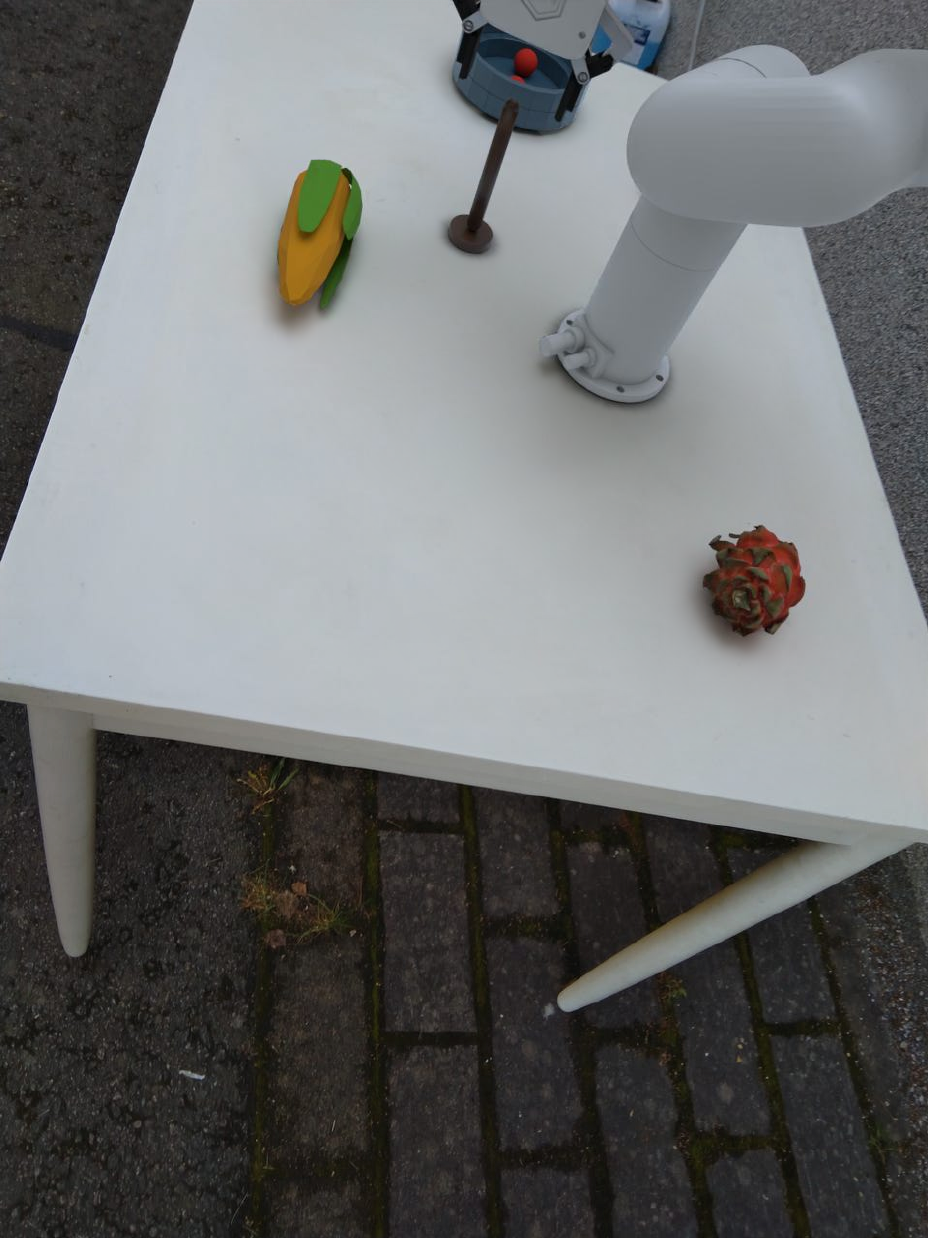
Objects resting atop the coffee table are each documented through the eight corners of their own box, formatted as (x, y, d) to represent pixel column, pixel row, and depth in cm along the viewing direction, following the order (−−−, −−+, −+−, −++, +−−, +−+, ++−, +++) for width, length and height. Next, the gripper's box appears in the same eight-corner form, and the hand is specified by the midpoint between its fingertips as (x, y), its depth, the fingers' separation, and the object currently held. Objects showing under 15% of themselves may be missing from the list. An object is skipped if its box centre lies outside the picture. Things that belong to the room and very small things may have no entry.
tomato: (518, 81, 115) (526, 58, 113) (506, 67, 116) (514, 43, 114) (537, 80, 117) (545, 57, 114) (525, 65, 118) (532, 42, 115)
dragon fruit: (704, 660, 81) (718, 572, 89) (805, 661, 77) (810, 570, 85) (693, 589, 76) (708, 503, 84) (801, 587, 72) (806, 497, 80)
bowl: (494, 141, 109) (508, 97, 104) (427, 56, 114) (437, 10, 110) (599, 129, 117) (617, 88, 112) (532, 50, 122) (546, 7, 117)
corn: (374, 146, 89) (340, 276, 79) (366, 213, 96) (334, 342, 85) (300, 127, 88) (256, 256, 78) (297, 196, 95) (255, 325, 84)
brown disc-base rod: (461, 256, 97) (506, 116, 84) (440, 226, 98) (480, 84, 85) (498, 249, 99) (547, 112, 86) (476, 220, 100) (521, 81, 87)
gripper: (469, -148, 68) (416, 74, 82) (676, -50, 70) (590, 151, 84) (490, -181, 72) (437, 36, 86) (686, -87, 74) (602, 110, 88)
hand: (512, 93), depth 85 cm, fingers open, 9 cm apart
